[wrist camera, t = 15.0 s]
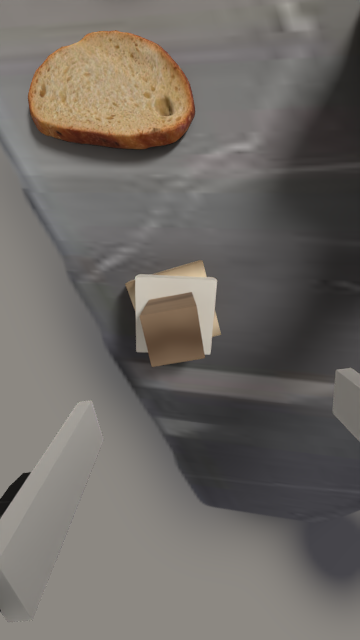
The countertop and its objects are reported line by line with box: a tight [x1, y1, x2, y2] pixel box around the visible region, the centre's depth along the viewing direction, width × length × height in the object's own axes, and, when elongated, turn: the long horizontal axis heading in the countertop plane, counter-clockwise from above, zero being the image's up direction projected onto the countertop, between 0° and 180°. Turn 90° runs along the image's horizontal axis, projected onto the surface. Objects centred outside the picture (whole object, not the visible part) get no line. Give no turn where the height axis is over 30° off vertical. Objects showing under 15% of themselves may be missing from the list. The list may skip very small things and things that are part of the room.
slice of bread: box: [28, 30, 195, 149], centre depth 29 cm, size 18×18×4 cm
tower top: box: [135, 274, 217, 355], centre depth 33 cm, size 11×11×4 cm
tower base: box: [125, 260, 221, 337], centre depth 37 cm, size 12×12×4 cm
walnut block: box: [139, 292, 205, 367], centre depth 28 cm, size 6×6×8 cm
